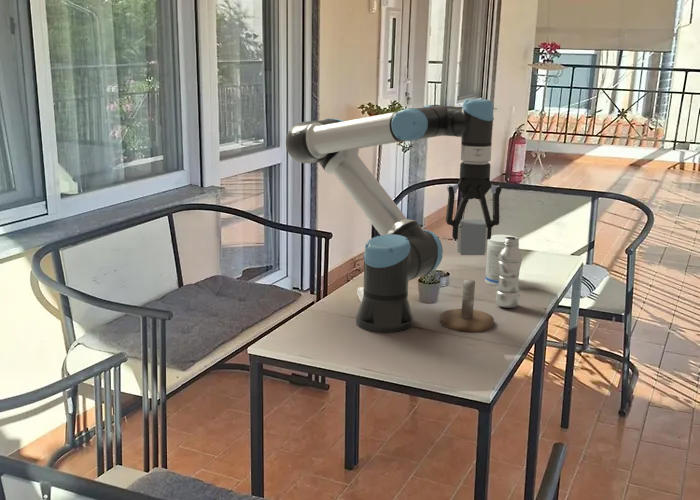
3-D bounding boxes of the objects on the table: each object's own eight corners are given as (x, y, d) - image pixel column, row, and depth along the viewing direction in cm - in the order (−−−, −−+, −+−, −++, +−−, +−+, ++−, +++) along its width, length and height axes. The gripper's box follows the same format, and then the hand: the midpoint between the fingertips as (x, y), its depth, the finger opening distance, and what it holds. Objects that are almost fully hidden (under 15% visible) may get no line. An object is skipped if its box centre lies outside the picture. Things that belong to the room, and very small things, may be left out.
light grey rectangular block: (461, 255, 201) (462, 224, 199) (457, 249, 207) (458, 219, 205) (484, 255, 201) (486, 224, 199) (480, 249, 207) (481, 219, 205)
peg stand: (445, 332, 203) (447, 289, 200) (436, 313, 216) (438, 273, 213) (499, 331, 204) (502, 289, 201) (486, 313, 217) (489, 273, 214)
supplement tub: (489, 277, 251) (493, 232, 248) (519, 282, 247) (523, 236, 244) (480, 285, 243) (483, 239, 239) (510, 290, 239) (514, 243, 235)
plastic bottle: (518, 311, 220) (524, 241, 215) (494, 309, 221) (499, 240, 216) (518, 304, 226) (524, 236, 221) (494, 302, 227) (499, 234, 222)
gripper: (439, 163, 194) (436, 254, 200) (516, 164, 195) (510, 255, 200) (435, 159, 201) (432, 247, 207) (509, 160, 202) (504, 247, 208)
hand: (470, 251), depth 204 cm, fingers closed on light grey rectangular block, 6 cm apart
